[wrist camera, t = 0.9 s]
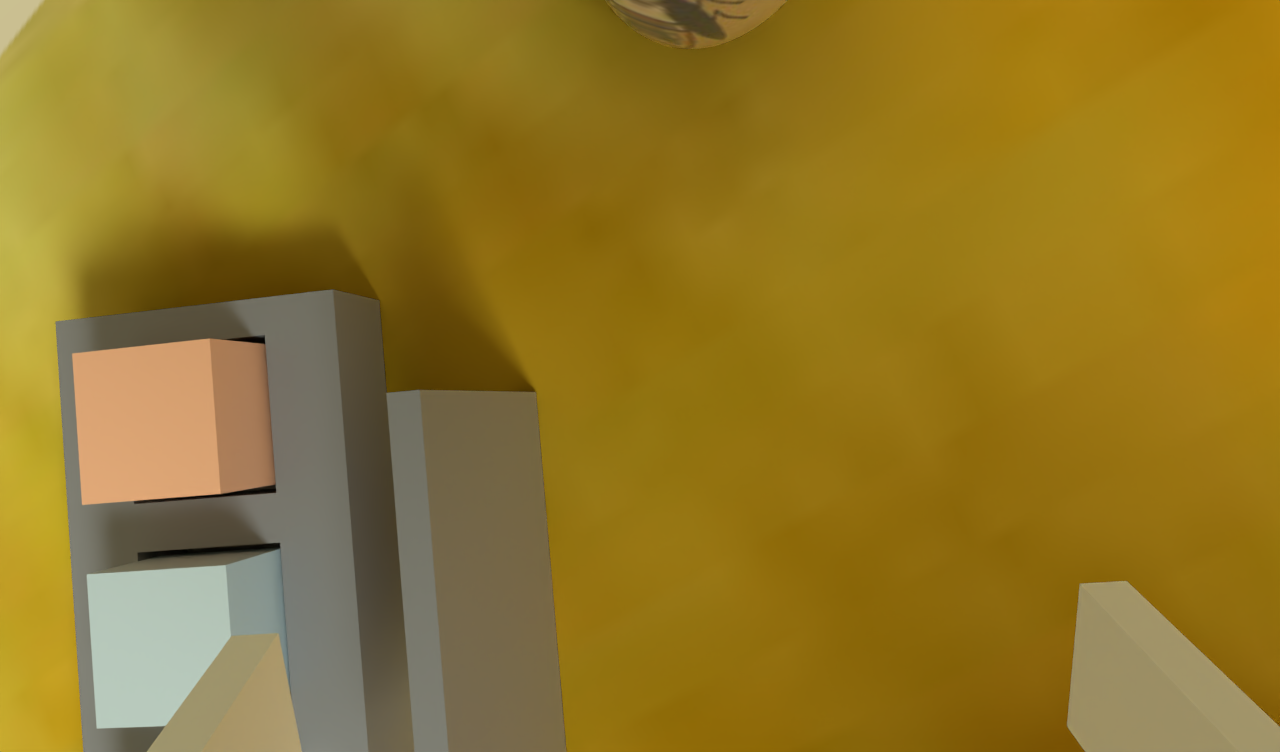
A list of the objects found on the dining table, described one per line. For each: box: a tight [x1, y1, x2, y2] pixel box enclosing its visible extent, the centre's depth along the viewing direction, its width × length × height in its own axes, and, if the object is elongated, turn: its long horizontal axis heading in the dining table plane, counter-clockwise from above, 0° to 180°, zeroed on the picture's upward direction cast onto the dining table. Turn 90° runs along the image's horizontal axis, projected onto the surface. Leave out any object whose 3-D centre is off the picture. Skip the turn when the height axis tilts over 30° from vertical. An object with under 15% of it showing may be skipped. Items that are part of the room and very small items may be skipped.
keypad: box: [56, 289, 566, 752], centre depth 33 cm, size 25×18×12 cm
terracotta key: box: [72, 338, 276, 505], centre depth 35 cm, size 6×6×4 cm
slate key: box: [87, 547, 291, 729], centre depth 34 cm, size 6×6×4 cm
